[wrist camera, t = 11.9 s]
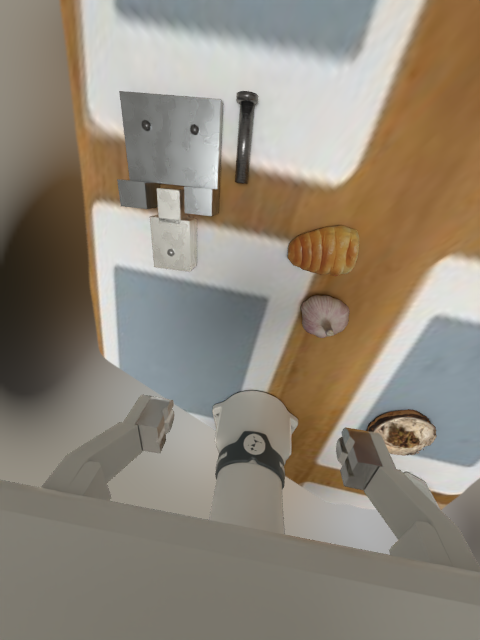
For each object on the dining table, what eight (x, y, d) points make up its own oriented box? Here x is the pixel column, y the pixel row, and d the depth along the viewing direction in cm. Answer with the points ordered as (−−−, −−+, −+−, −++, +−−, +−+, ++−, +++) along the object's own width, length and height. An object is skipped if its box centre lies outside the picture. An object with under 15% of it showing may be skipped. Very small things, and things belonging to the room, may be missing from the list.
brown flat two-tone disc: (345, 437, 54) (350, 455, 51) (386, 393, 47) (396, 410, 43) (405, 457, 55) (414, 476, 51) (454, 417, 48) (469, 436, 44)
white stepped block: (196, 265, 39) (189, 272, 35) (163, 260, 39) (153, 267, 36) (196, 191, 33) (188, 191, 30) (158, 187, 34) (146, 187, 31)
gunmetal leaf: (218, 212, 34) (211, 216, 31) (138, 204, 35) (121, 206, 31) (223, 103, 29) (215, 89, 25) (126, 95, 29) (103, 81, 25)
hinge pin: (250, 183, 32) (248, 183, 30) (233, 182, 32) (229, 181, 30) (258, 99, 28) (257, 92, 26) (238, 97, 28) (235, 90, 26)
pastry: (286, 271, 38) (287, 279, 34) (288, 225, 34) (290, 229, 31) (349, 271, 36) (357, 279, 33) (357, 223, 33) (367, 227, 30)
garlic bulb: (293, 298, 39) (297, 322, 32) (338, 281, 37) (353, 303, 30) (308, 335, 42) (315, 364, 35) (351, 321, 40) (367, 349, 33)
